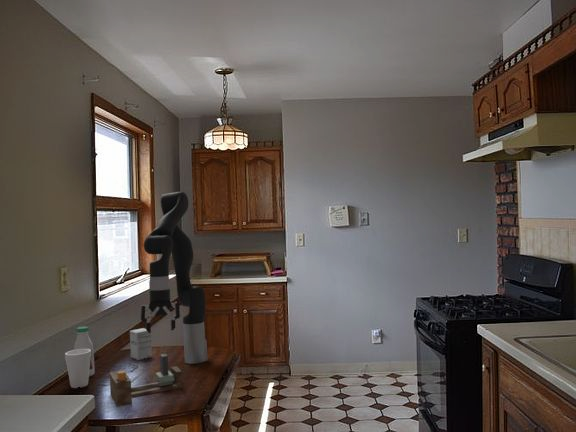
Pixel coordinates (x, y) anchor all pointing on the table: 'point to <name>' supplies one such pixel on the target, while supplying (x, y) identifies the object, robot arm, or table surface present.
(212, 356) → the table surface
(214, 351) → the table surface
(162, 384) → the sliding handle
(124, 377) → the button
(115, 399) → the brown mechanism housing
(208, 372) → the table surface
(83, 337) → the milk bottle
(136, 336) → the supplement box
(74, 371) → the foam cup
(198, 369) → the table surface
